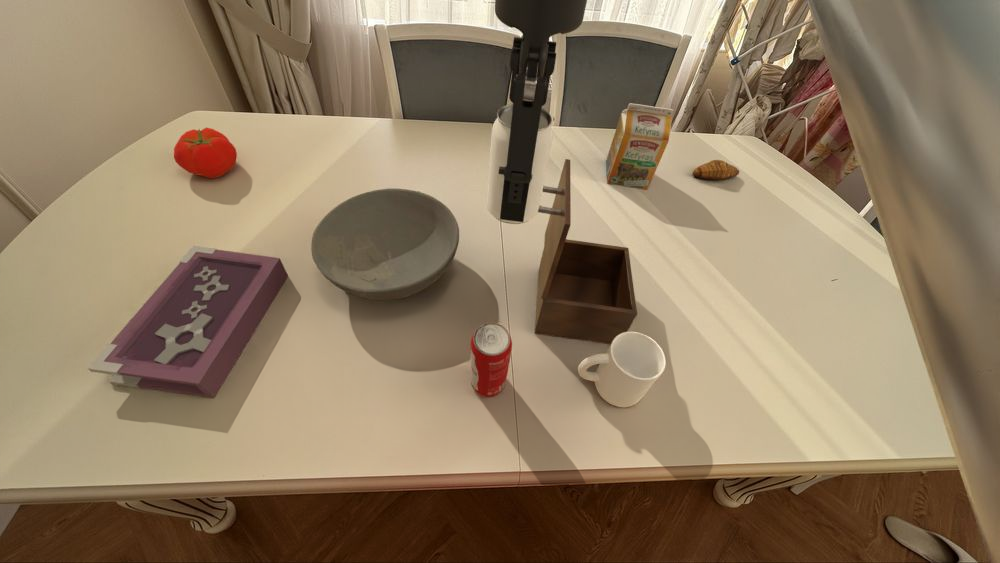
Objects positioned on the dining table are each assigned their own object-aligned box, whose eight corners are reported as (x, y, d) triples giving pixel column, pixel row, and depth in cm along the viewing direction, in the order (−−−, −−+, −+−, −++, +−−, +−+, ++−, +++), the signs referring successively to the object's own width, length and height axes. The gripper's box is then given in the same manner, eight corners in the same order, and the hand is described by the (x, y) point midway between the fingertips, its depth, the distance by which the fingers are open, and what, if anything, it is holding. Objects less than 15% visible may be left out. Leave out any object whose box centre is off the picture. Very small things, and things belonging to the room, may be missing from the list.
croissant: (697, 184, 109) (705, 168, 106) (686, 169, 114) (694, 154, 110) (742, 183, 111) (752, 168, 108) (729, 169, 116) (739, 153, 112)
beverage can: (506, 368, 69) (516, 318, 58) (503, 405, 65) (513, 358, 53) (472, 364, 69) (475, 312, 58) (466, 400, 65) (468, 352, 53)
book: (206, 263, 78) (193, 245, 75) (288, 275, 78) (279, 257, 74) (109, 384, 62) (86, 368, 58) (213, 398, 62) (197, 384, 58)
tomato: (184, 159, 99) (164, 126, 92) (241, 151, 103) (226, 119, 96) (183, 190, 91) (162, 157, 85) (244, 179, 96) (229, 147, 89)
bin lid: (570, 159, 64) (515, 150, 64) (570, 224, 54) (505, 214, 54) (548, 235, 77) (502, 227, 76) (545, 299, 66) (492, 291, 66)
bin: (613, 281, 84) (628, 247, 77) (619, 345, 74) (637, 314, 67) (538, 270, 84) (546, 236, 77) (534, 333, 74) (543, 300, 67)
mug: (573, 404, 66) (588, 374, 58) (570, 359, 71) (584, 326, 63) (646, 411, 66) (671, 382, 58) (637, 365, 72) (659, 333, 64)
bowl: (469, 312, 76) (470, 277, 68) (319, 332, 71) (302, 296, 63) (449, 219, 92) (449, 183, 85) (327, 230, 87) (314, 192, 79)
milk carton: (643, 166, 113) (671, 99, 98) (647, 189, 106) (677, 121, 91) (605, 161, 113) (627, 93, 99) (607, 183, 106) (630, 114, 92)
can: (479, 217, 49) (484, 123, 40) (495, 187, 53) (503, 95, 44) (530, 231, 48) (548, 139, 39) (543, 199, 52) (562, 109, 43)
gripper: (508, -67, 38) (492, 151, 56) (482, -5, 25) (472, 252, 43) (587, -57, 38) (546, 158, 56) (601, 9, 25) (542, 260, 43)
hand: (514, 199), depth 49 cm, fingers closed on can, 6 cm apart
